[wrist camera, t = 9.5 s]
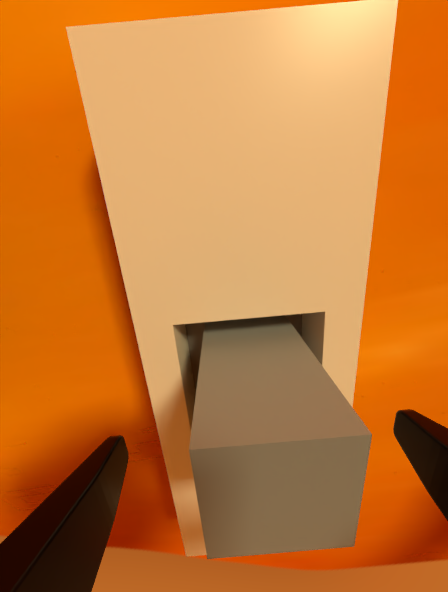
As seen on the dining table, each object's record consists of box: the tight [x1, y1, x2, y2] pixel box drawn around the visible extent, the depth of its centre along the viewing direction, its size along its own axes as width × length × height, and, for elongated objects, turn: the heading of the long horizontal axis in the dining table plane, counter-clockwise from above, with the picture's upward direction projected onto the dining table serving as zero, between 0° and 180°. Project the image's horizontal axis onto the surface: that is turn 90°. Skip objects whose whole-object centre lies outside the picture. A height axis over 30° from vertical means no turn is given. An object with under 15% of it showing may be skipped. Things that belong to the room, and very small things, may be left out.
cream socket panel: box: [66, 0, 398, 557], centre depth 12 cm, size 9×24×4 cm, turn 5°
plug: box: [189, 315, 372, 559], centre depth 9 cm, size 4×4×7 cm
